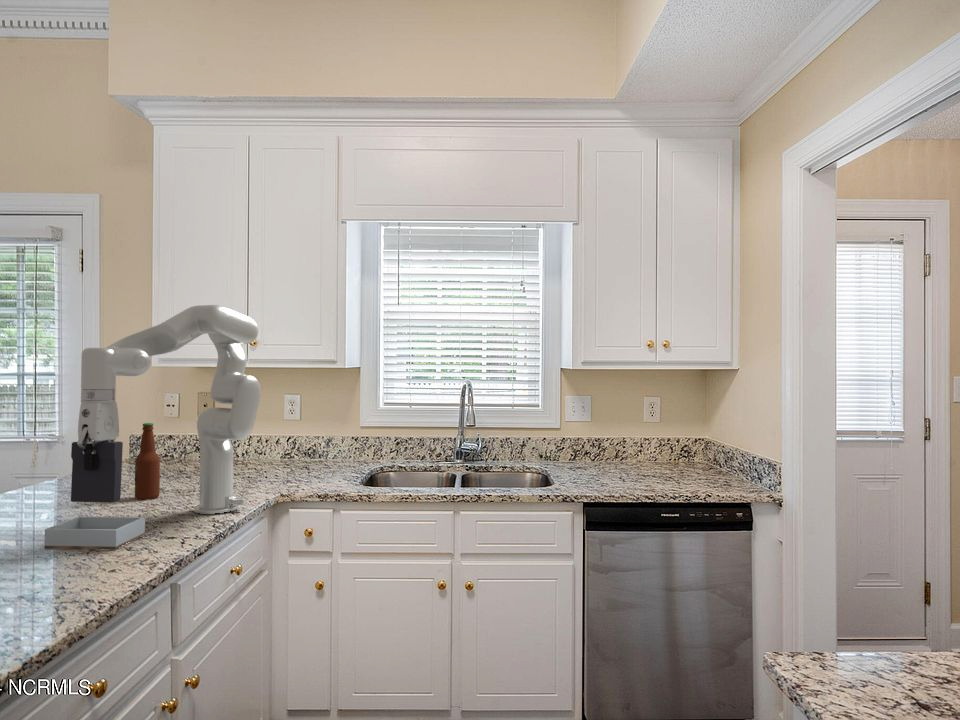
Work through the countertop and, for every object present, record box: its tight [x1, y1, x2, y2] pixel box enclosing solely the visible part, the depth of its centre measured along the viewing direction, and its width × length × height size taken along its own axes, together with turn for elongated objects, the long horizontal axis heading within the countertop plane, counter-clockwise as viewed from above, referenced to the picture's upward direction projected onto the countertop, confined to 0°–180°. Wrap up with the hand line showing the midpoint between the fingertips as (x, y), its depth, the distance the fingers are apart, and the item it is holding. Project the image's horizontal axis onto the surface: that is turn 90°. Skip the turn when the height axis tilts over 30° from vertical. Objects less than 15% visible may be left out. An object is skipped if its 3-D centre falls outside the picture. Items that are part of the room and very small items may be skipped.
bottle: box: [134, 422, 161, 501], centre depth 207 cm, size 7×7×25 cm
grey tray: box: [44, 515, 146, 547], centre depth 157 cm, size 18×13×4 cm
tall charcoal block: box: [70, 440, 124, 504], centre depth 157 cm, size 11×4×15 cm, turn 89°
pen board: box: [44, 532, 146, 550], centre depth 157 cm, size 18×13×1 cm
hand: (97, 467), depth 157 cm, fingers closed on tall charcoal block, 4 cm apart
